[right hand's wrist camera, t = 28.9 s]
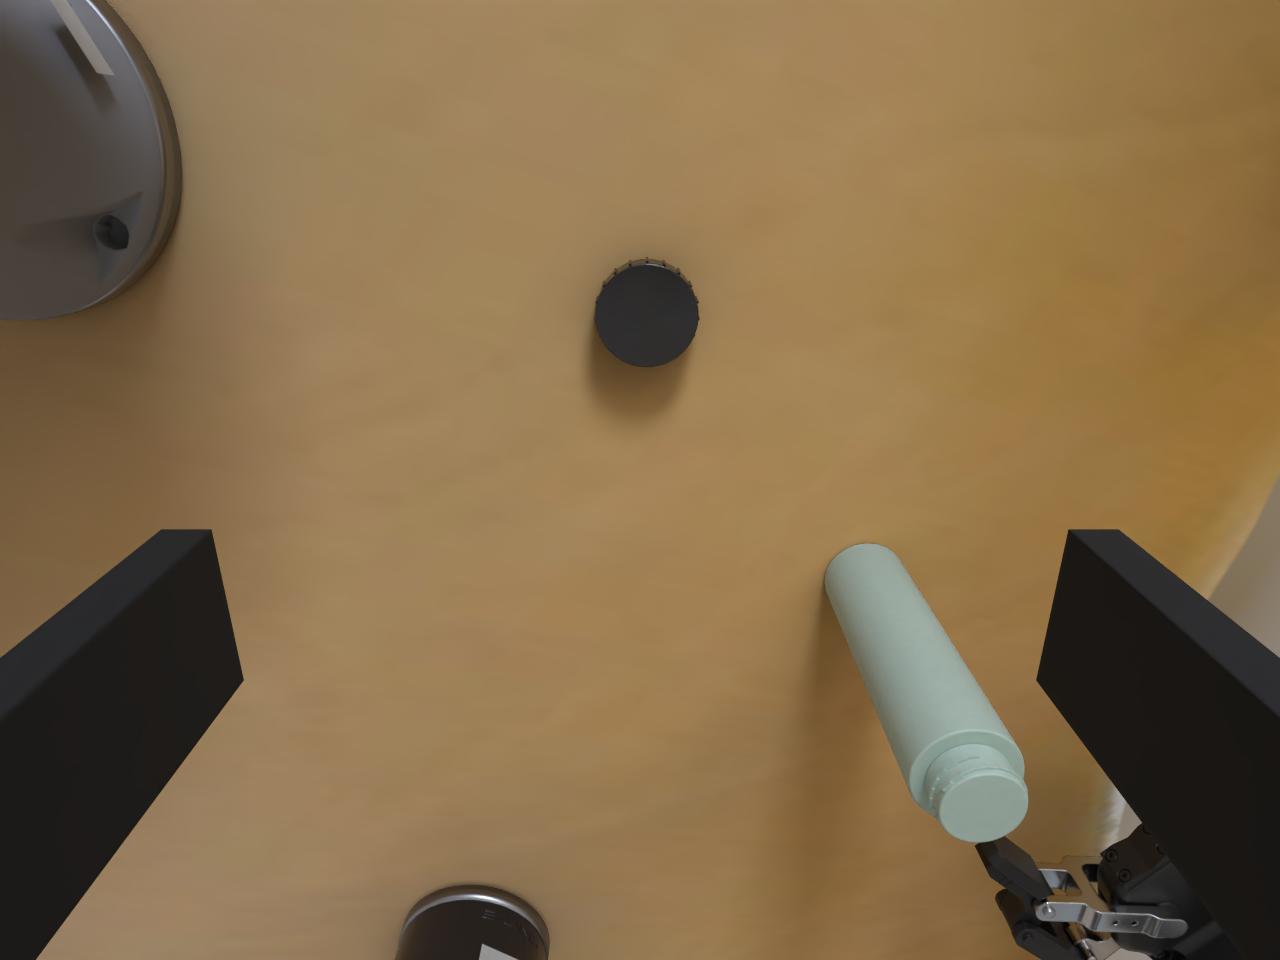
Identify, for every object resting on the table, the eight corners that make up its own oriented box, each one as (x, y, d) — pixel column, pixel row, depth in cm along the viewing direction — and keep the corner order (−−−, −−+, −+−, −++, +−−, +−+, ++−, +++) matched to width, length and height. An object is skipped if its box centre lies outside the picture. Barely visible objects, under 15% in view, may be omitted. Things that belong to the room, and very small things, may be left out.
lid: (714, 282, 38) (718, 289, 36) (672, 374, 39) (673, 384, 38) (620, 240, 37) (619, 244, 35) (580, 335, 39) (578, 344, 37)
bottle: (919, 568, 43) (1071, 796, 28) (869, 625, 45) (988, 872, 29) (857, 528, 42) (979, 741, 27) (808, 588, 44) (897, 822, 28)
